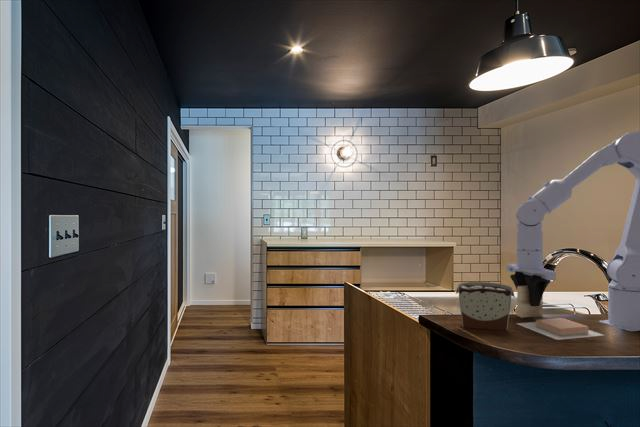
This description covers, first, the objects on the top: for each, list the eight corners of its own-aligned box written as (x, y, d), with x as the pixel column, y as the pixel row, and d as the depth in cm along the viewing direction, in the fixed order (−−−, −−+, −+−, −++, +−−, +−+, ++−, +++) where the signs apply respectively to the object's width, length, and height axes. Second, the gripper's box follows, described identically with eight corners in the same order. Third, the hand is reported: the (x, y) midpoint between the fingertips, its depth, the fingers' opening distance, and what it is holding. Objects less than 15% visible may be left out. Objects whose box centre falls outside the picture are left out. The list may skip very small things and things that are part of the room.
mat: (559, 322, 97) (559, 320, 97) (604, 337, 85) (604, 335, 85) (515, 325, 94) (515, 323, 94) (556, 342, 82) (556, 339, 82)
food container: (509, 325, 95) (509, 282, 94) (514, 333, 89) (514, 287, 89) (454, 321, 98) (454, 280, 98) (455, 328, 92) (455, 285, 92)
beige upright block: (537, 316, 102) (537, 284, 102) (542, 318, 101) (542, 286, 101) (517, 317, 101) (517, 286, 101) (521, 319, 99) (521, 287, 99)
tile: (561, 317, 93) (588, 326, 86) (561, 324, 93) (588, 333, 86) (536, 319, 91) (560, 328, 84) (536, 326, 91) (560, 336, 85)
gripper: (496, 247, 107) (496, 298, 107) (537, 253, 93) (537, 312, 93) (519, 247, 108) (519, 297, 108) (563, 252, 94) (563, 310, 94)
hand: (529, 304), depth 101 cm, fingers open, 3 cm apart
